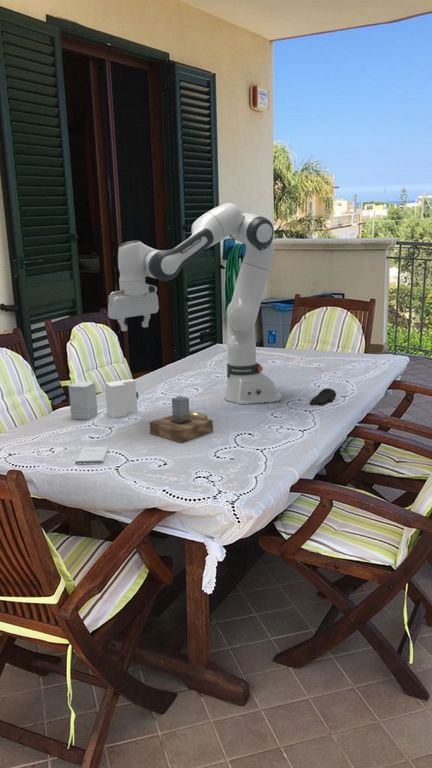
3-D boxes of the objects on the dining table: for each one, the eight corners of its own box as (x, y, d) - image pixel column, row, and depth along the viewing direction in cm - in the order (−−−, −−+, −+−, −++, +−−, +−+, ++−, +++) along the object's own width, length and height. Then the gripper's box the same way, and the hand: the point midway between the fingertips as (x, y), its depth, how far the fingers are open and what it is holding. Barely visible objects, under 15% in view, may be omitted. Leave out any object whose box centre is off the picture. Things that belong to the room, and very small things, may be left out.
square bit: (181, 429, 224) (180, 396, 221) (190, 432, 222) (188, 398, 219) (173, 432, 221) (171, 398, 219) (181, 435, 219) (180, 400, 216)
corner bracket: (113, 418, 240) (110, 386, 237) (103, 410, 250) (101, 380, 247) (140, 413, 244) (138, 382, 242) (129, 406, 254) (128, 376, 251)
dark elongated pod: (327, 408, 247) (327, 400, 246) (308, 406, 250) (308, 398, 249) (342, 394, 266) (342, 386, 266) (324, 392, 269) (325, 385, 269)
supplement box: (98, 414, 244) (96, 381, 241) (88, 420, 238) (85, 386, 235) (80, 413, 247) (78, 380, 244) (70, 419, 240) (67, 385, 237)
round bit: (181, 422, 235) (178, 412, 234) (188, 416, 238) (185, 407, 236) (201, 427, 229) (198, 418, 227) (208, 421, 231) (205, 412, 229)
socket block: (182, 423, 232) (181, 412, 231) (212, 431, 222) (212, 420, 221) (150, 433, 221) (149, 422, 220) (180, 442, 211) (180, 431, 210)
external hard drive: (75, 466, 195) (83, 451, 207) (103, 465, 195) (109, 450, 207) (75, 461, 194) (82, 446, 207) (102, 460, 195) (108, 446, 207)
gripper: (114, 292, 216) (116, 333, 220) (160, 286, 231) (162, 325, 234) (102, 291, 221) (105, 332, 224) (148, 286, 235) (150, 324, 238)
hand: (134, 328), depth 229 cm, fingers open, 8 cm apart
